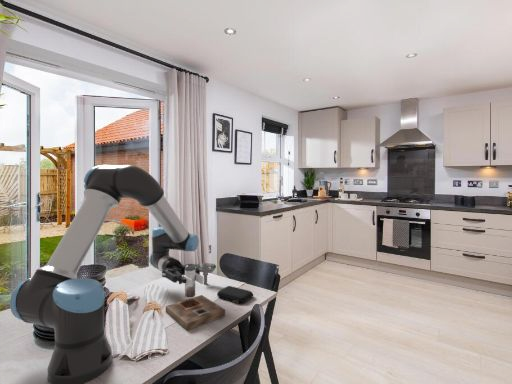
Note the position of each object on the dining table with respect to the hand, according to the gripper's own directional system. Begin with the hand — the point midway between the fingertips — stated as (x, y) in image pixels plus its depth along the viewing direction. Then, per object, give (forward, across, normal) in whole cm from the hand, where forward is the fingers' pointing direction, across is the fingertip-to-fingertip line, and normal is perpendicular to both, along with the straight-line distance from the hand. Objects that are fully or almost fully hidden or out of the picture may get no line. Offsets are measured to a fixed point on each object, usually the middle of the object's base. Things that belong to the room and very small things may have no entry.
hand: (197, 281), depth 108 cm
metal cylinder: (-5, 0, -7) cm, 9 cm away
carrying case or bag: (-4, -20, -14) cm, 25 cm away
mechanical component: (-25, -19, -13) cm, 34 cm away
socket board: (-1, 0, -13) cm, 13 cm away
